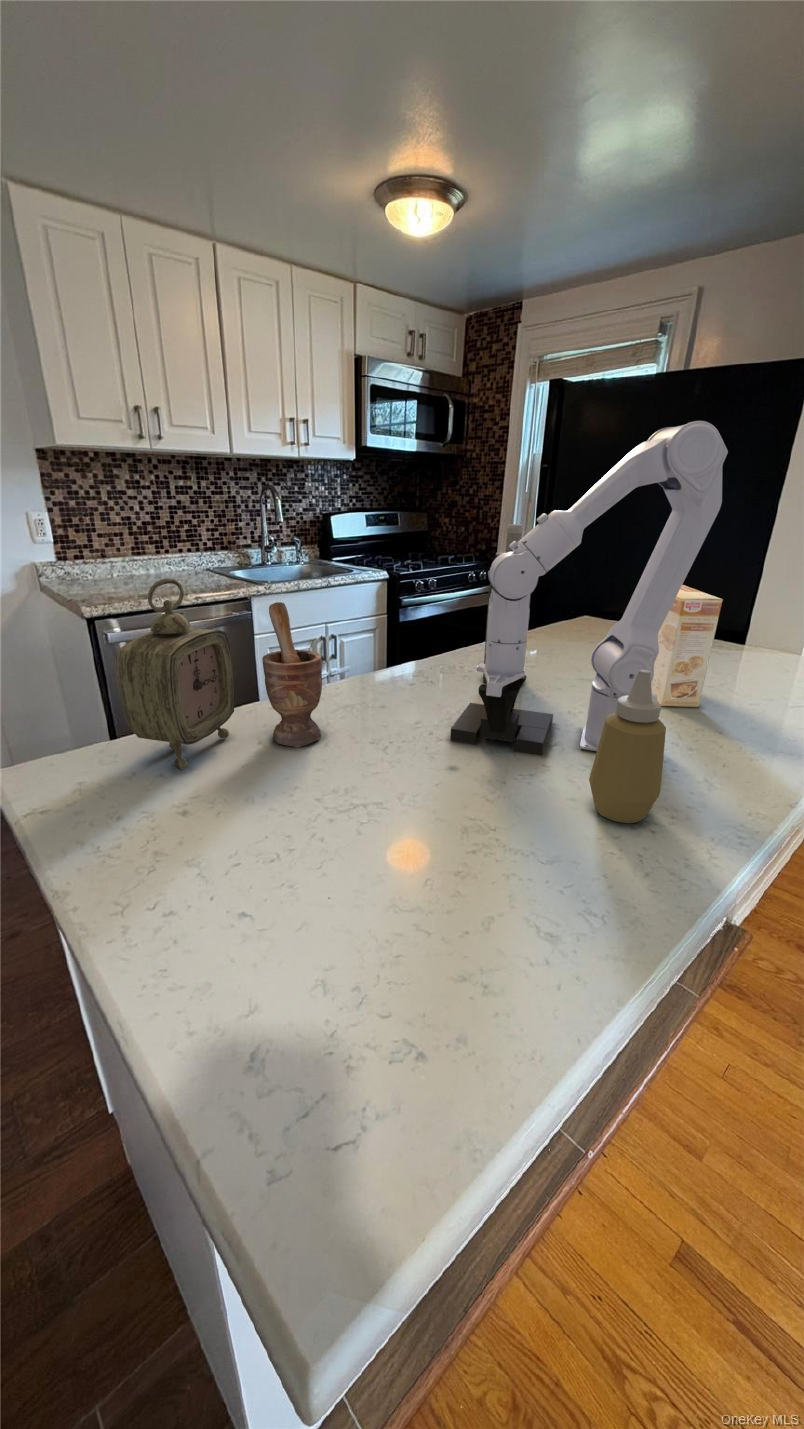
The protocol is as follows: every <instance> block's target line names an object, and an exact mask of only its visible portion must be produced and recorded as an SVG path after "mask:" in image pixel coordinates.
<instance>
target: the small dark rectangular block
mask: <svg viewBox="0 0 804 1429" xmlns="http://www.w3.org/2000/svg"><path fill="white" fill-rule="evenodd" d="M518 720H519V713H513V712H509V715H508V719H507V723H506V727H505V729H504V732H503V733H496V732H490V731H489V728H488V722H487V715H486V712H485V713H484V715H483V717H482V718H481V725H480V737H479V738H485V739H491V740H498V741H504V742H512V743H513V741H514V739H515V738H516V736H515V735H516V733H517V730H518Z"/></svg>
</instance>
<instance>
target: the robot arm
mask: <svg viewBox="0 0 804 1429" xmlns="http://www.w3.org/2000/svg"><path fill="white" fill-rule="evenodd" d="M728 454H729V451H728V448H727V446H726V444H725V442H724V440H723V438H722V436H721V434H720V432H719V429H717V428H716V426H714V425H713V424H712V423H710V422H708V421H706V420H694V421H690V422H687V423H686V424H682V425H677V426H667V427H663V428H660V429H658V430H657V431H655V432H654V433H652V435H650V436H649V438H648V439H647V440H646V441H643V442H641V443H639V444H638V445H637V446H635V447H634V448H632V450H630V451H629V452H628V453H627V454H626V455H625V456H624V457H623V458H622V459H621V460H620V461H618V462H617V463H616V464H615V465H614V466H613V467H612V468H611V469H610V470H609V471H608V472H607V473H606V474H604V475H603V477H601V479H599V480H598V481H597V482H596V483H595V484H594V485H593V486H592V487H591V488H590V489H589V490H588V491H587V492H586V493H585V494H584V495H583V496H581V498H579V499H578V500H577V501H576V502H575V503H574V504H573V505H572V506H571V507H570V508H569V509H568V510H559V509H558V510H556V509H554V510H553V511H551V512H550V513H548V514H547V513H542V514H541V515H539V516H538V517H537V518H536V522H537V524H536V525H535V526H534V527H533V528H531V530H530V531H529V532H527V533H526V534H525V535H524V536H523V537H522V538H521V540H520V541H519V542H516V541H513V542H512V543H511V544H510V545H509V547H510V548H511V549H512V551H513V552H507V553H505V552H503V553H500V554H499V555H498V556H497V557H495V559H494V560H493V561H492V563H491V566H490V567H489V570H488V571H487V577H488V581H489V583H491V584H492V586H493V587H494V588H492V591H491V595H490V601H491V604H490V606H489V615H488V629H487V644H486V660H485V664H484V663H478V665H477V666H476V671H477V672H479V673H484V675H485V678H486V680H487V683H486V684H483V683H481V684H480V685H479V687H478V695H479V697H480V699H481V701H482V703H483V705H484V706H485V710H486V715H487V722H488V728H489V731H490V732H496V733H503V732H504V729H505V727H506V723H507V719H508V715H509V712H513V709H515V705H516V701H517V698H518V695H519V693H520V690H521V688H522V686H523V685H524V683H525V682H526V680H527V675H526V668H525V667H526V666H525V665H526V655H527V643H528V633H529V621H530V612H531V607H530V608H529V602H530V603H531V599H530V593H531V594H532V593H533V592H534V590H535V589H536V587H537V586H538V582H539V577H541V576H544V575H546V574H547V573H548V572H549V571H550V570H552V569H553V568H554V567H555V566H556V565H557V564H558V563H560V562H561V561H562V560H563V559H565V558H566V557H567V556H568V555H570V553H572V551H574V550H575V549H576V548H577V547H578V546H580V545H581V544H582V539H583V534H584V530H585V529H586V528H587V527H588V526H589V525H590V524H592V523H593V522H595V520H597V519H598V518H599V517H600V516H602V515H604V513H606V512H607V511H608V510H610V509H611V508H612V507H614V506H615V505H616V504H617V503H618V502H620V501H621V500H622V499H624V498H625V497H626V496H627V495H628V494H630V493H631V492H632V491H634V490H635V489H636V488H639V487H642V486H648V485H652V484H658V485H659V486H660V487H661V488H662V490H663V491H664V494H665V497H666V498H667V500H668V502H669V505H670V507H671V512H670V514H669V516H668V518H667V521H666V523H665V525H664V527H663V529H662V532H661V533H660V536H659V538H658V540H657V542H656V544H655V546H654V549H653V551H652V553H651V555H650V557H649V559H648V561H647V563H646V566H645V567H644V569H643V572H642V574H641V576H640V578H639V581H638V583H637V585H636V587H635V589H634V591H633V593H632V595H631V598H630V600H629V602H628V604H627V606H626V608H625V610H624V612H623V615H622V617H621V618H620V620H618V621H617V622H616V623H615V624H614V625H612V626H611V627H610V629H609V630H608V632H607V634H606V636H605V637H604V638H603V639H602V640H601V641H599V643H598V644H596V646H595V647H594V649H593V650H592V652H591V656H590V663H591V667H592V669H593V670H594V672H595V673H596V674H595V678H594V679H593V680H592V683H591V689H590V696H589V703H588V709H587V715H586V716H587V717H586V724H585V726H584V727H583V728H582V734H581V738H580V742H579V748H580V749H581V750H587V751H593V752H597V749H598V745H599V742H600V738H601V734H602V731H603V727H604V724H605V720H606V718H607V717H608V716H609V715H611V714H613V713H616V712H615V711H616V705H617V700H618V698H619V697H622V696H626V695H629V693H630V691H631V689H632V686H633V684H634V682H635V679H636V677H637V674H638V672H639V670H649V671H650V672H651V682H652V680H653V677H654V663H655V660H656V658H657V656H658V654H659V645H658V632H659V630H660V628H661V626H662V624H663V622H664V620H665V618H666V616H667V614H668V612H669V610H670V608H671V606H672V604H673V602H674V600H675V598H676V596H677V594H678V592H679V590H680V588H681V586H682V585H684V582H685V580H686V578H687V577H688V573H689V572H690V570H691V568H692V566H693V564H694V562H695V561H696V559H697V556H698V554H699V552H700V550H701V548H702V546H703V544H704V542H705V540H706V538H707V536H708V534H709V532H710V531H711V528H712V526H713V524H714V523H715V520H716V518H717V516H718V514H719V512H720V510H721V507H722V504H723V466H724V463H725V461H726V458H727V455H728ZM652 699H654V700H656V701H657V694H654V693H652Z"/></svg>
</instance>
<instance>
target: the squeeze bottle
mask: <svg viewBox="0 0 804 1429" xmlns="http://www.w3.org/2000/svg"><path fill="white" fill-rule="evenodd" d="M661 710H662V706H661V704H660V703H659V702H658V701H656V700H654V699H652V690H651V672H650V671H649V670H639V672H638V674H637V677H636V679H635V682H634V684H633V686H632V689H631V691H630V693H629V695H626V696H622V697H619V698H618V700H617V705H616V711H615V712H616V713H613V714H611V715H609V716H608V717H607V718H606V720H605V724H604V727H603V731H602V734H601V738H600V742H599V745H598V749H597V751H595V752H596V753H595V757H594V760H593V764H592V767H591V771H590V774H589V778H588V781H589V786H590V790H591V795H592V796H591V797H592V800H593V804H594V808H595V811H596V812H598V814H600V815H601V816H602V817H604V818H606V819H608V820H611V821H613V822H618V823H624V824H632V823H633V824H634V823H639V822H641V821H642V820H644V819H645V818H646V817H647V815H648V814H649V812H650V810H651V809H652V807H653V806H654V804H655V803H656V802H657V801H658V799H659V797H660V794H661V790H662V780H663V779H662V778H663V768H664V756H665V745H666V744H665V743H666V732H667V731H666V730H667V727H666V725H665V724H664V723H663V722H662V720H661V719H659V718H660V715H661Z"/></svg>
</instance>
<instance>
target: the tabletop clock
mask: <svg viewBox="0 0 804 1429" xmlns="http://www.w3.org/2000/svg"><path fill="white" fill-rule="evenodd" d="M168 584H172V585H175V586H176V587H177V588H178V590H179V598H178V599H177V601H175V602H174V603H173V602H172V600H170V599H166V600H164V601H163V603H162V604H163V607H159V606H156V605H154V603H153V596H154V594H155V592H156V590H157V589H158V588H160V587H161V586H163V585H168ZM184 596H185V591H184V587H183V586H182V584H181V583H180V582H179V581H178V580H176V579H174V578H161V579H159V580H157V581H156V582H154V583H153V584H152V585H151V587H150V588H149V590H148V593H147V602H148V605H149V607H150V608H151V609H152V610H153V611H154V612H157V613H161V614H159V615H157V616H156V617H155V618H154V619H153V620H152V623H151V626H150V632H147V633H145V634H143V635H141V636H139V637H137V638H135V639H133V640H131V641H130V642H127V643H126V644H124V645H123V646H121V647H120V648H119V649H118V650H117V651H116V652H115V657H114V668H115V669H114V670H115V677H116V685H117V690H118V696H119V700H120V705H121V708H122V712H123V717H124V719H125V722H126V724H127V726H128V728H129V729H130V730H131V732H132V733H133V734H134V735H135V736H136V737H137V738H139V739H145V740H150V741H151V740H152V741H157V742H164V743H168V745H169V748H170V749H171V750H172V751H174V752H175V756H176V759H175V761H174V762H173V765H174V768H175V769H177V770H179V771H183V770H184V769H186V767H187V765H188V762H187V760H186V759H184V758H182V748H181V747H182V745H193V744H196V743H199V742H200V741H202V740H203V739H205V738H207V737H208V736H210V735H212V734H213V733H215V732H216V731H217V736H218V737H219V738H220V739H223V740H224V739H227V738H228V737H229V735H230V732H229V729H227V728H226V727H222V726H224V724H225V723H227V722H228V721H229V719H231V717H232V715H233V714H234V712H235V707H236V706H235V704H236V683H235V670H234V664H233V656H232V650H231V646H230V642H229V639H228V636H227V633H226V632H225V631H223V630H218V629H206V628H195V627H193V626H192V624H191V622H190V620H189V619H188V618H187V617H186V616H184V615H183V614H181V613H179V612H174V610H176V609H177V608H179V606H180V605H182V604H183V603H182V602H183V600H184Z"/></svg>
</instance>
